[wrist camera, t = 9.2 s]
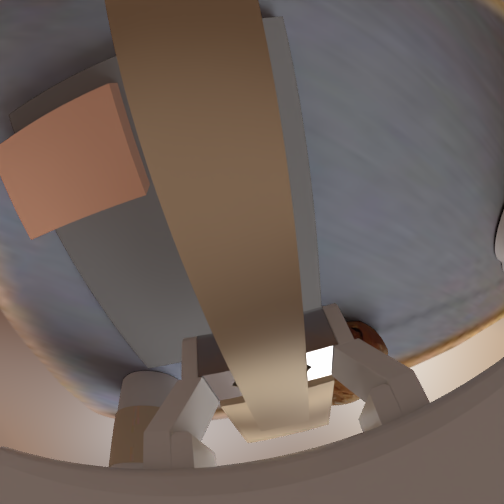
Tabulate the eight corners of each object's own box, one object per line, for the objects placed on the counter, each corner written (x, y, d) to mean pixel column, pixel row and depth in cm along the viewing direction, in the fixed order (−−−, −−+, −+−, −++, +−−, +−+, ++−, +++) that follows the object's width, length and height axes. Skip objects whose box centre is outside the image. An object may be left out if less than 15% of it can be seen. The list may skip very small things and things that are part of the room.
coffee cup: (142, 410, 30) (147, 522, 18) (95, 374, 25) (85, 510, 12) (208, 396, 30) (228, 520, 17) (168, 355, 25) (179, 518, 12)
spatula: (65, 11, 4) (12, -4, 2) (296, -45, 4) (335, -83, 2) (246, 434, 17) (251, 464, 15) (325, 416, 17) (334, 445, 15)
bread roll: (299, 357, 35) (327, 411, 31) (268, 357, 26) (305, 431, 22) (367, 315, 33) (399, 370, 29) (360, 301, 24) (405, 377, 20)
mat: (277, 19, 12) (282, 16, 11) (318, 316, 25) (322, 324, 24) (16, 112, 11) (8, 114, 10) (148, 359, 24) (148, 368, 24)
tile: (109, 83, 10) (-9, 150, 10) (146, 195, 14) (31, 239, 13) (117, 82, 12) (5, 143, 11) (150, 184, 15) (41, 226, 15)
